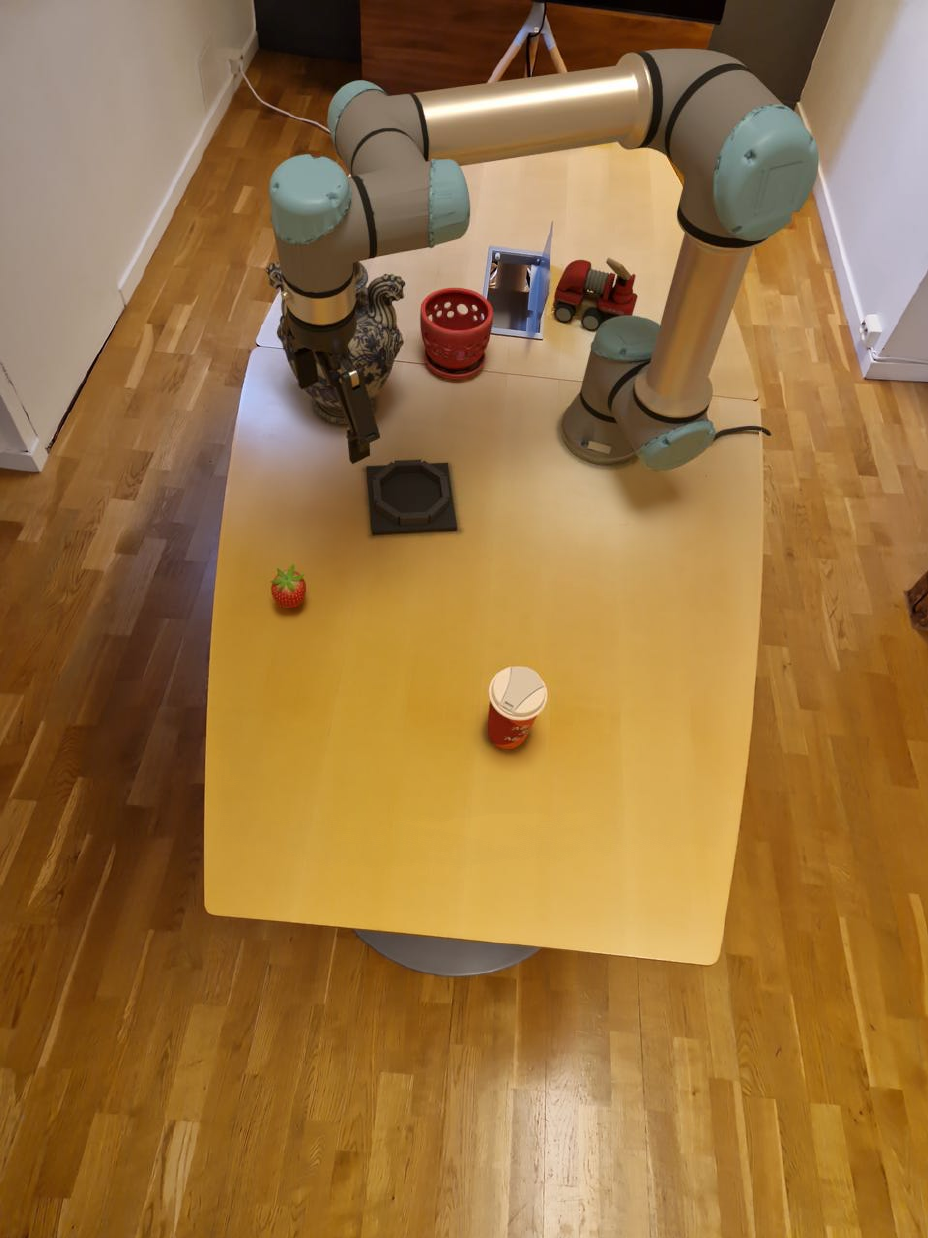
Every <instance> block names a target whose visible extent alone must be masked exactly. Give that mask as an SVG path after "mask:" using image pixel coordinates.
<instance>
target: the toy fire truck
mask: <svg viewBox="0 0 928 1238" xmlns="http://www.w3.org/2000/svg"><path fill="white" fill-rule="evenodd" d="M605 263H606V264H607V266H608V267H609V268H610V269H611V270H612V271H613V272H610V273H609V272H605V271H601V270H597V269H593V268H592V262H591V261H589V260H585V259H576V260H573V261H571V262H569V264H568V265H567V266H566V267H565V269H564V271H563V272H562V275H561V276H560V279H559V281H558V283H557V286H556V288H555V291H554V295H553V297H554V298H553V299H554V300H553V305H552V306H553V309H554V310H553V316H554V318H555V319H556V321H557V322H559V323H561V324H569V323H571V322H572V321H573V319H574V318H578V319H580V324H581V326H582V328H583V329H584V330H586V331H588V332H597V330H598V328H599V327H600V325H601V324H603V323H604V322H605V321H607V320H609V319H611V318H614V317H618V316H633V315H634V310H635V307H636V304H637V301H638V294H636V293H635V292H634V289H633V288H634V285H635V282H636V281H635V280H636V276H637V275H636V274H635V273H632V275H631V273H630V272H629V271H628V270H627V269H626V267H625V266H624V265H623V264H622V263H620V262H618V261H616V260H615V259H612V258H611V257H607V259H606V261H605Z"/></svg>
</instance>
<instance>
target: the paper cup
mask: <svg viewBox="0 0 928 1238" xmlns="http://www.w3.org/2000/svg"><path fill="white" fill-rule="evenodd" d="M488 697H489V705H488V717H487V736H488V739H489V740H490V742H491V743H492V744H493V745H494V746H496V747H497V748H499V749H502V750H515V749H516V748H518V747H519V746H521V745H522V743H524V741H525V740H526V738H527V736H528V734H529V733H530V731H531V729H532V727H533V725H534V723H535V721H536V719H537V717H538V716H539V714H541V713H542V711H543V710H544V709H545V707H546V705H547V702H548V689H547V685H546V683H545V682H544V680H543V679H542V677H541V676H540V674H539V673H538V672H536V670H534V669H532V668H530V667H527V666H521V665H520V666H517V665H516V666H508V667H505V668H504V669H502V670H500V671H499V672H497V673H496V674H495V675H494V676H493V677H492V679H491V680H490V684H489V685H488Z"/></svg>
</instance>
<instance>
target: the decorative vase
mask: <svg viewBox="0 0 928 1238" xmlns="http://www.w3.org/2000/svg"><path fill="white" fill-rule="evenodd" d="M353 266H354V278H355V298H356V302H355V303H356V318H357V328H356V332H355V334H354V336H353V338H352V339H351V341H350V343H349V344H348V347H349V350H350V358H351V361H352V364H353V366H354V368H355V367H357V366H361V368H362V369H363V370H364V377H365V385H366V388H367V392H368V395H369V399H370V402H371V406H372V409H373V408H374V401H375V400H374V398H375V397H376V396H377V395H378V394H379V393H380V392H381V390H382V389H383V388H384V385H385V384H386V382H387V381H388V379H389V377H390V375H391V373H392V370H393V366H394V362H395V359H396V358H397V356H398V354H399V353H400V351H401V348H402V347H403V345H404V343H405V340H404V338H403V333H402V332H401V330H400V329H399V327H398V324H397V323H398V320H397V319H398V317H397V312H396V310H395V309H396V308H395V306H394V305H393V302H395V301H396V302H399V301H400V300H403V299H404V298H405V294H404V287H405V286H406V282H405V281H404V280H403V278H402V276H400V275H395V274H394V273H390V274H388V273H384V274H383V275H381V276H378V277H376V278H374V279H373V280H372V281H370V283H369V284H368V282H369V273H368V271H367V269H366V266H364V265H363V264H362V262H361V261H358V262H354V263H353ZM265 272H266V274H267V275H268V279H269V280H268V285H269V286H270V287H272V288H273V289H275V290H278V289H280V293H281V292H283V291H284V286H283V280H282V275H281V269H280V263H279V260H278V261H275V262H269V264H268V266H267V267H266V268H265ZM367 284H368V286H367ZM280 311H281V314H282V315H280V317H279V325H278V327H277V330H276V335H277V338H278V339H279V340H280V342H281V344H282V348H283V351H284V352H285V355H286V356H285V357H286V360H287V363H288V365H289V367H290V369H291V371H292V373H293V375H294V378H295V379H296V380H297V374H296V368H295V362H294V356H293V353H294V351H293V350H292V349H291V348H290V346H289V341H291V339H290V337H289V336H287V337H285V336H284V335H283V334H282V329H281V328H282V325H283V322H284V319H285V315H286V312H287V303H286V301H285V300H283V299H282V298H281V304H280ZM316 363H317V362H316ZM317 371H318V379H319V382H318V383H315V384H313V385H311V386H309V387H307V388H304V389H303V390H304V391H305V392H306V394H307V395H308V396H309V397H311V399H313V404H314V408H315V411H316V413H317V414H318V416H320V417H321V418H322V419H324V420H326V421H327V422H329V423H331V424H332V423H333V424H338V425H348V424H347V421H346V419H345V416H344V414H343V411H342V409H341V406H340V403H339V401H338V398H337V396H336V393H335V391H334V388H333V386H330V385H328V384H327V382H326V379H325V377H324V374H323V372H322V369H321V367H320V365H318V364H317ZM342 373H343V372H342V370H341V369H339V370H337V371H335V372H332V373H331V376H332V378H333V377H335V376H337V375H339V374H342Z"/></svg>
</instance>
